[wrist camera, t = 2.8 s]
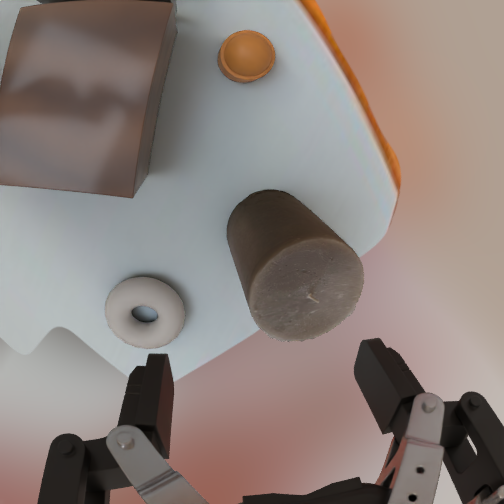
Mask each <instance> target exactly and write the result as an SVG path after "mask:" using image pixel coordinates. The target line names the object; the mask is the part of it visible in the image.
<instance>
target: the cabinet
mask: <svg viewBox="0 0 504 504" xmlns="http://www.w3.org/2000/svg"><path fill="white" fill-rule="evenodd" d="M176 36H177V25H176V18H175V11H174V3H167V2H155V1H139V0H84V1H68V2H57V3H48V4H40V5H33V6H27V7H21V8H20V11H19V14H18V17H17V20H16V23H15V27H14V30H13V34H12V37H11V41H10V45H9V48H8V52H7V57H6V61H5V66H4V70H3V75H2V81H1V86H0V185H9V186H21V187H32V188H43V189H54V190H64V191H74V192H83V193H92V194H101V195H110V196H118V197H127V198H133V197H134V196H135V194H136V192H137V191H138V189H139V188H140V186H141V184H142V183H143V181H144V180H145V178H146V177H147V175H148V170H149V163H150V157H151V150H152V144H153V139H154V133H155V127H156V122H157V117H158V112H159V107H160V102H161V97H162V92H163V88H164V83H165V79H166V75H167V71H168V66H169V62H170V58H171V54H172V51H173V47H174V43H175V39H176Z"/></svg>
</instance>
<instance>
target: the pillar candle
mask: <svg viewBox="0 0 504 504" xmlns="http://www.w3.org/2000/svg"><path fill="white" fill-rule="evenodd" d="M227 240H228V244H229V247H230V251H231V254H232V257H233V260H234V263H235V266H236V269H237V272H238V275H239V279H240V282H241V285H242V288H243V291H244V294H245V297H246V300H247V303H248V306H249V309H250V312H251V315H252V317H253V319H254V321H255V322H256V324H257V325H258V327H259V328H260V329H261V330H263V331H264V332H265V333H266V334H267V335H268V336H269V337H270V338H275V339H277V340H278V341H283V342H284V341H288V342H289V341H304V340H306V339H314V338H316V337H318V336H320V335H322V334H324V333H327V332H328V331H330V330H332V329H333V328H334V327H336V326H337V325H339V324H340V323H341V322H342V321H343V320H345V318H346V317H348V316H350V315H351V314H352V313H353V311H354V310H355V307H356V306H355V305H356V303H357V302H358V299H359V297H360V295H361V292H362V288H363V284H364V274H363V273H364V272H363V266H362V263H361V261H360V259H359V257H358V256H357V254H356V253H355V252H354V251H353V249H352V248H351V247H350V246H348V245H347V244H346V243H345V242H344V241H343V240H342V239H341V238H340V237H339V236H338V235H337V234H336V233H335V232H334V231H333V230H332V229H331V228H329V227H328V226H327V225H326V224H325V223H324V222H323V221H322V220H321V219H320V218H319V217H317V216H316V215H315V214H314V213H313V212H312V211H311V210H309V209H308V208H307V207H306V206H305V205H304V204H302V203H301V202H300V201H299V200H297V199H296V198H295V197H294V196H292V195H290V194H288V193H286V192H283V191H279V190H263V191H258V192H255V193H253V194H251V195H249V196H248V197H247V198H246V199H244V200H243V201H242V202H240V203H239V204H238V205H237V206H236V208H235V209H234V210H233V212H232V214H231V216H230V218H229V221H228V225H227Z"/></svg>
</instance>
